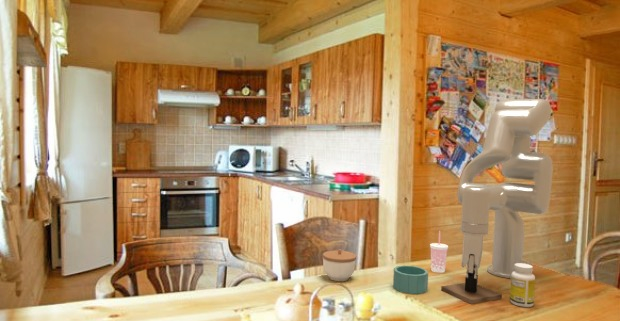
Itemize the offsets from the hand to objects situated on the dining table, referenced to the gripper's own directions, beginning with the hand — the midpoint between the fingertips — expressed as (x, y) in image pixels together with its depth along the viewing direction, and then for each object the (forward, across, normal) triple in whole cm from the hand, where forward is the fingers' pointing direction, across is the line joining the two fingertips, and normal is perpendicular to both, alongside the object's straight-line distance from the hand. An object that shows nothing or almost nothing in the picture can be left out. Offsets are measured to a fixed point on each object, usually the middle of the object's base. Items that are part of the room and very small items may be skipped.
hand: (471, 288), depth 132 cm
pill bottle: (+2, +1, +14) cm, 14 cm away
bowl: (+2, +3, -17) cm, 18 cm away
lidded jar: (+2, +5, -40) cm, 40 cm away
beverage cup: (+2, -20, -12) cm, 23 cm away
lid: (+2, 0, 0) cm, 2 cm away
